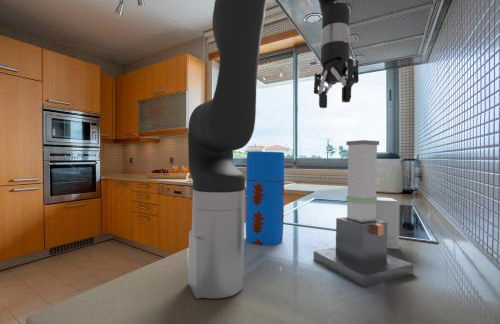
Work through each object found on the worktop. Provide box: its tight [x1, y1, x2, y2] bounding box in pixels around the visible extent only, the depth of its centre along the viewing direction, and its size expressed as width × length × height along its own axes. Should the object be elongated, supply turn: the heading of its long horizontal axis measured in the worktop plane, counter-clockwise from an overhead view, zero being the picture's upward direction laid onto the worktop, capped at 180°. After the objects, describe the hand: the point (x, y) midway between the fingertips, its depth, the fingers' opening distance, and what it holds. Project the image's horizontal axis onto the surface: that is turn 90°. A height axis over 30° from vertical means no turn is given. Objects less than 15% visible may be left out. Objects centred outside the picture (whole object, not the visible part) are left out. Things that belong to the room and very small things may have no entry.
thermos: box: [245, 151, 285, 246], centre depth 74 cm, size 11×11×25 cm
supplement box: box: [376, 196, 401, 250], centre depth 72 cm, size 7×7×13 cm
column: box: [345, 139, 380, 224], centre depth 56 cm, size 5×5×19 cm
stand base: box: [312, 216, 414, 288], centre depth 56 cm, size 14×14×10 cm
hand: (334, 105), depth 70 cm, fingers open, 8 cm apart
